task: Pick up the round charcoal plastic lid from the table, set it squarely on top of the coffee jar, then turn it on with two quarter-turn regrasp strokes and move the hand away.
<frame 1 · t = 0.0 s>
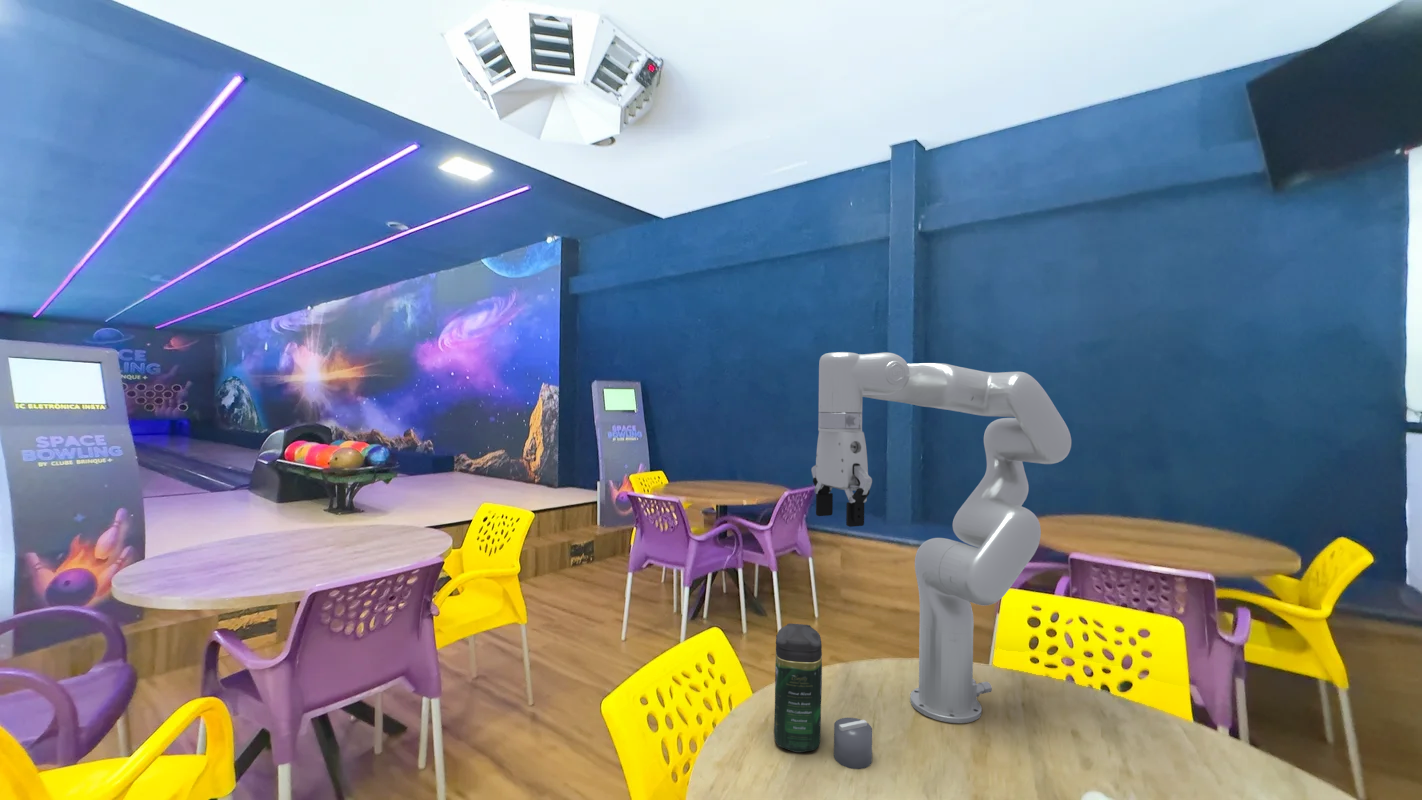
hand: (839, 520, 107), 37 cm above the table, tool pointing down, fingers open, 9 cm apart
coffee jar: (797, 739, 104), on the table
lid: (852, 758, 98), on the table
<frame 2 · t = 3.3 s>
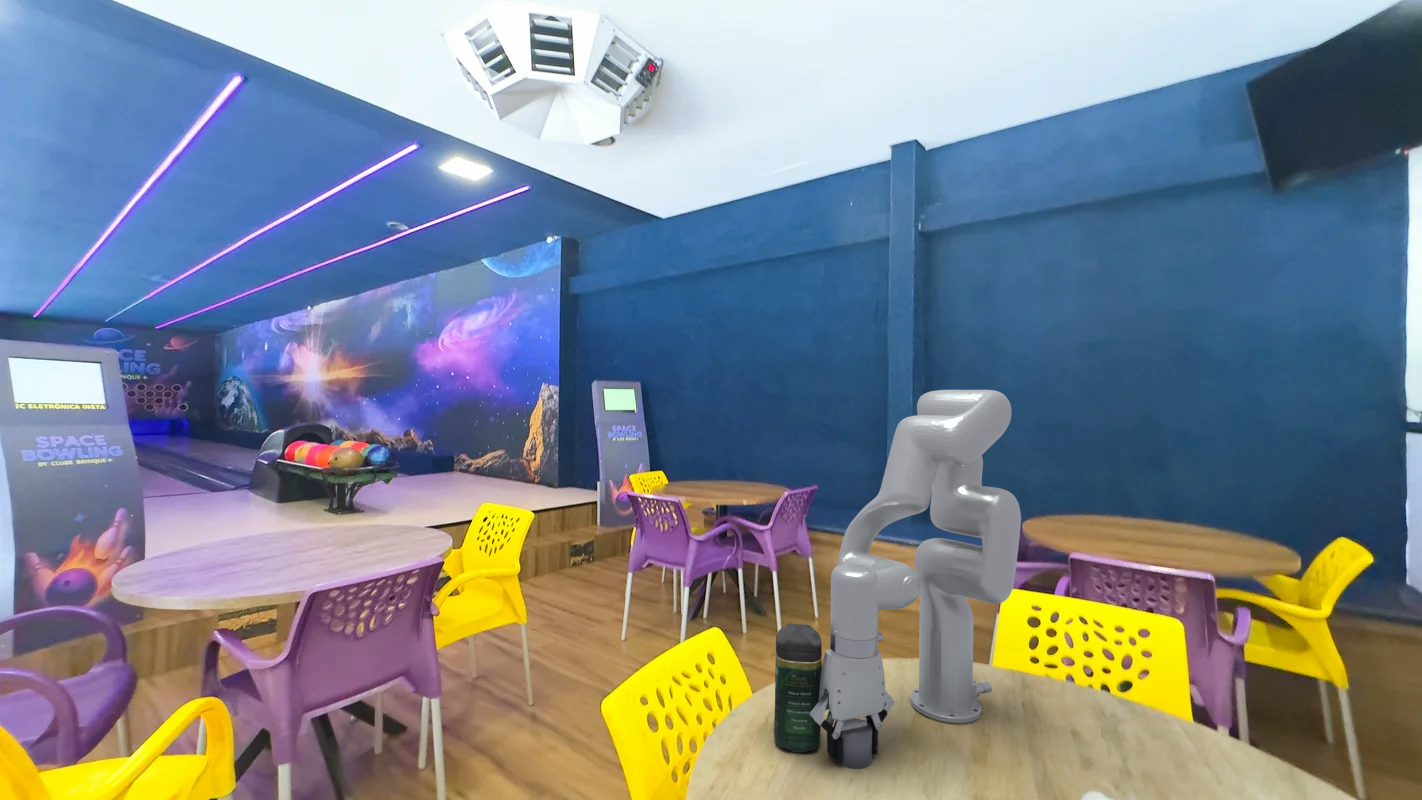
hand: (852, 753, 98), 1 cm above the table, tool pointing down, fingers closed on lid, 5 cm apart
lid: (852, 757, 98), on the table, touching gripper
everything else where it was.
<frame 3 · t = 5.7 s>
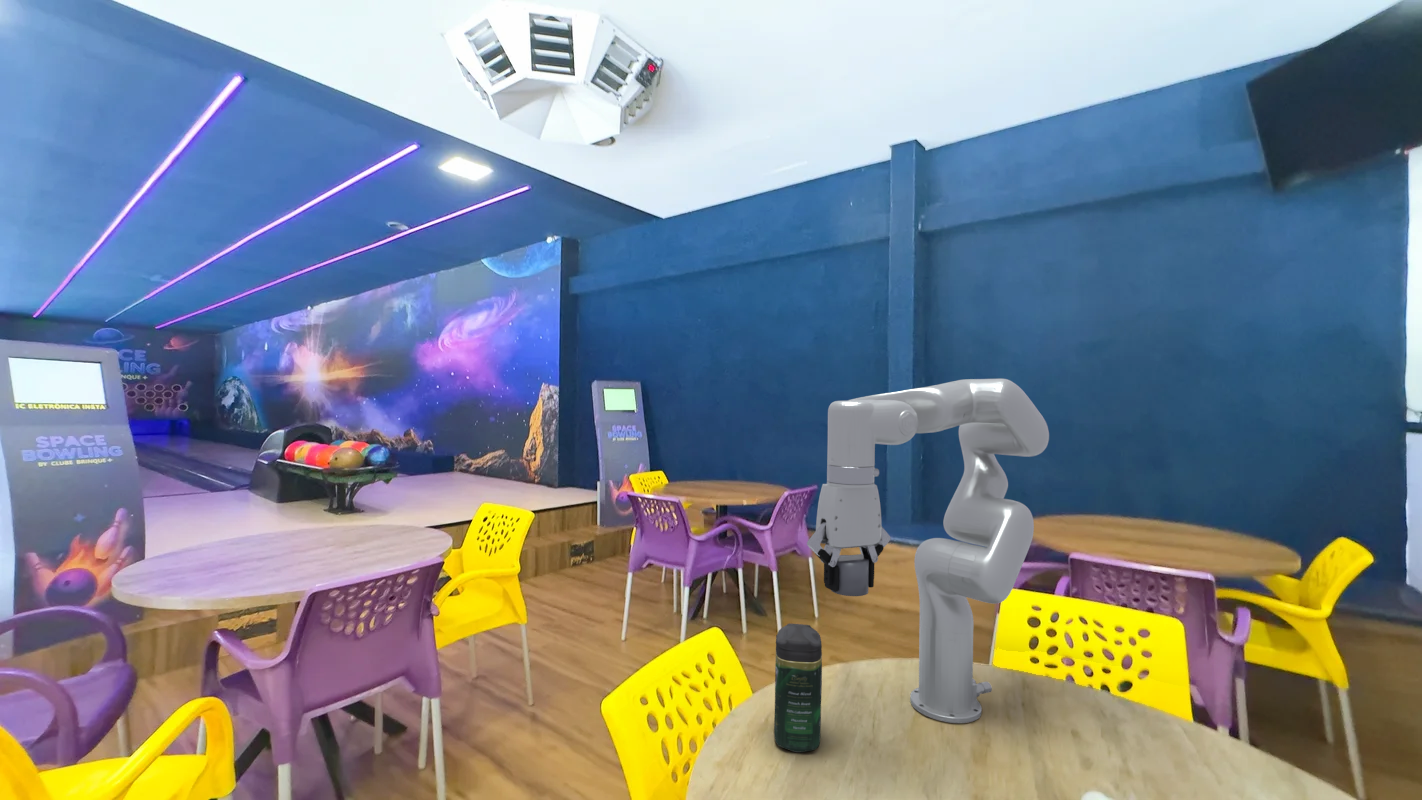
hand: (849, 586, 99), 28 cm above the table, tool pointing down, fingers closed on lid, 5 cm apart
lid: (849, 590, 99), point 27 cm above the table, touching gripper
everything else where it was.
when the fingers open (21 cm above the table, at t = 8.0 s): lid drops 1 cm, resting on coffee jar.
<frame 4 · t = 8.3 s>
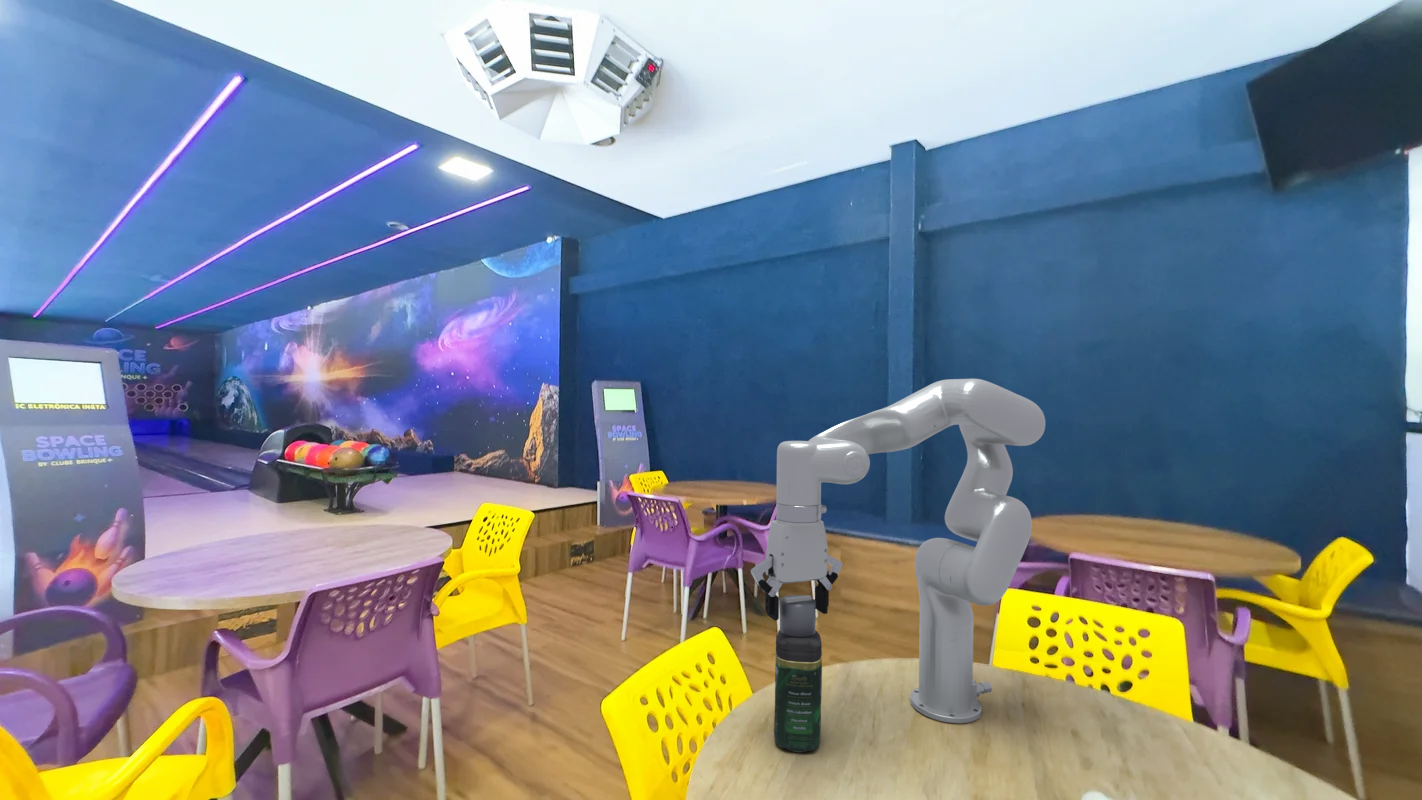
hand: (797, 614, 104), 21 cm above the table, tool pointing down, fingers open, 9 cm apart
coffee jar: (797, 739, 104), on the table, touching lid
lid: (797, 630, 104), point 19 cm above the table, touching coffee jar
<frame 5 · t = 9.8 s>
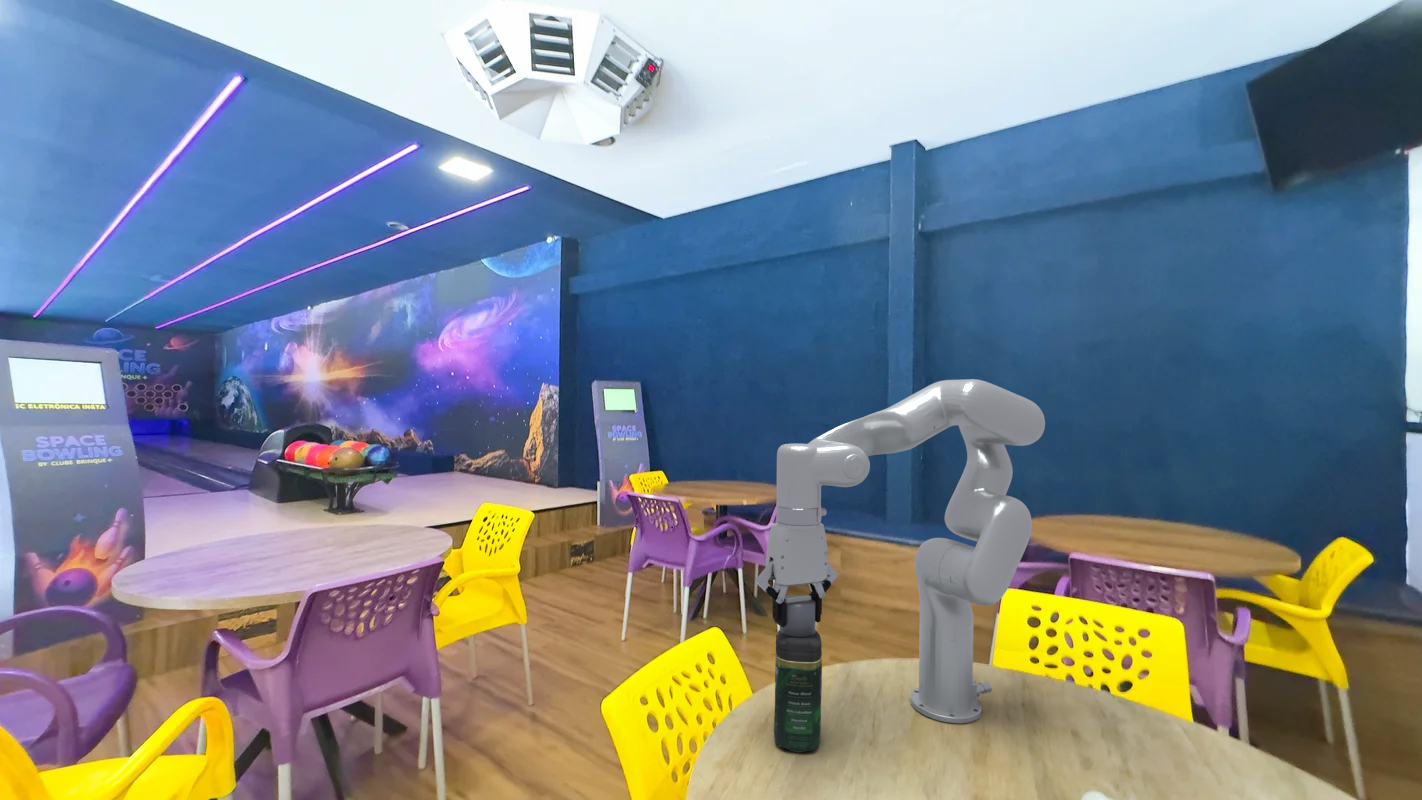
hand: (797, 620, 104), 20 cm above the table, tool pointing down, fingers closed on lid, 5 cm apart
lid: (797, 630, 104), point 19 cm above the table, touching coffee jar, gripper
everything else where it was.
when the fingers open (20 cm above the table, at t = 11.7 s): lid stays where it is, resting on coffee jar.
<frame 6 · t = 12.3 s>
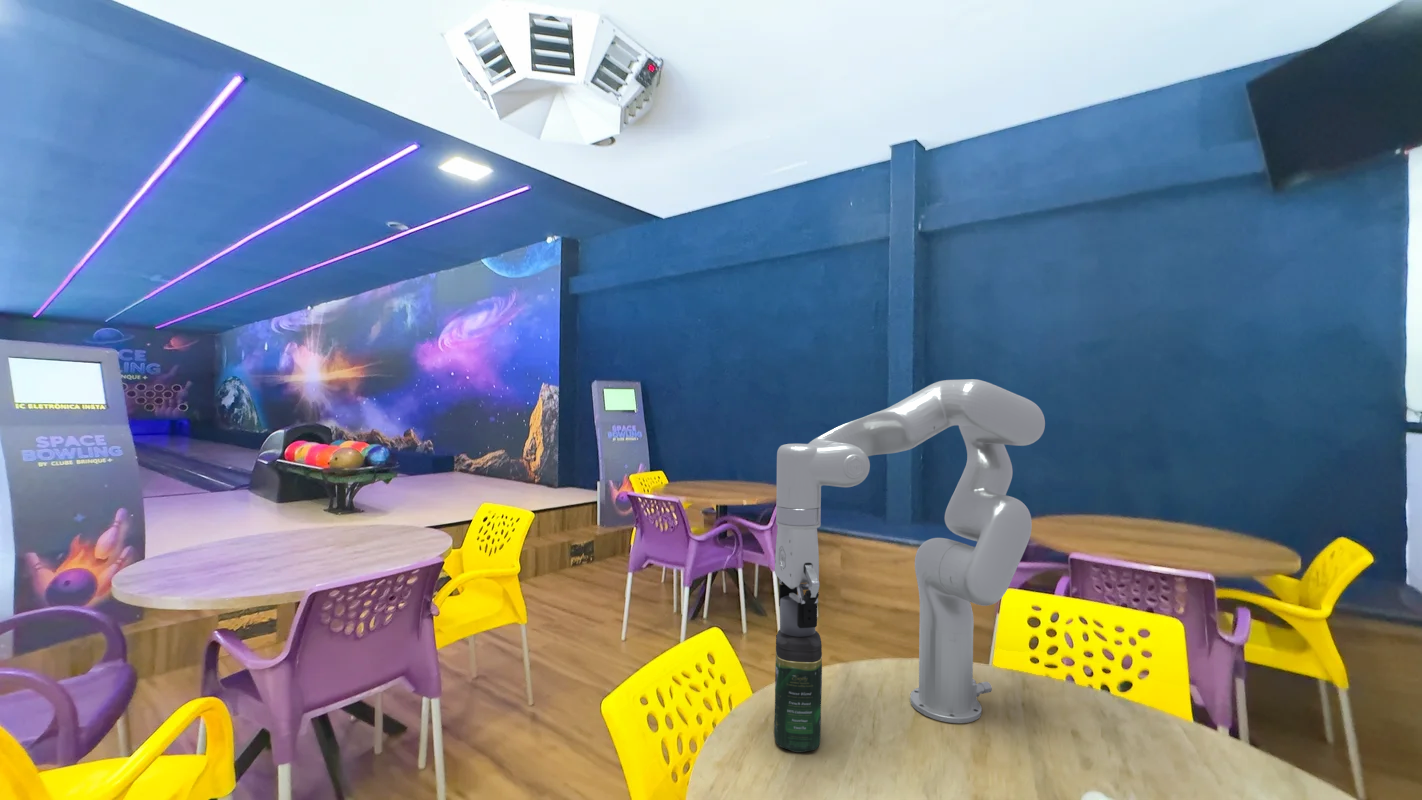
hand: (797, 616, 104), 21 cm above the table, tool pointing down, fingers open, 9 cm apart
lid: (797, 629, 104), point 19 cm above the table, touching coffee jar
everything else where it was.
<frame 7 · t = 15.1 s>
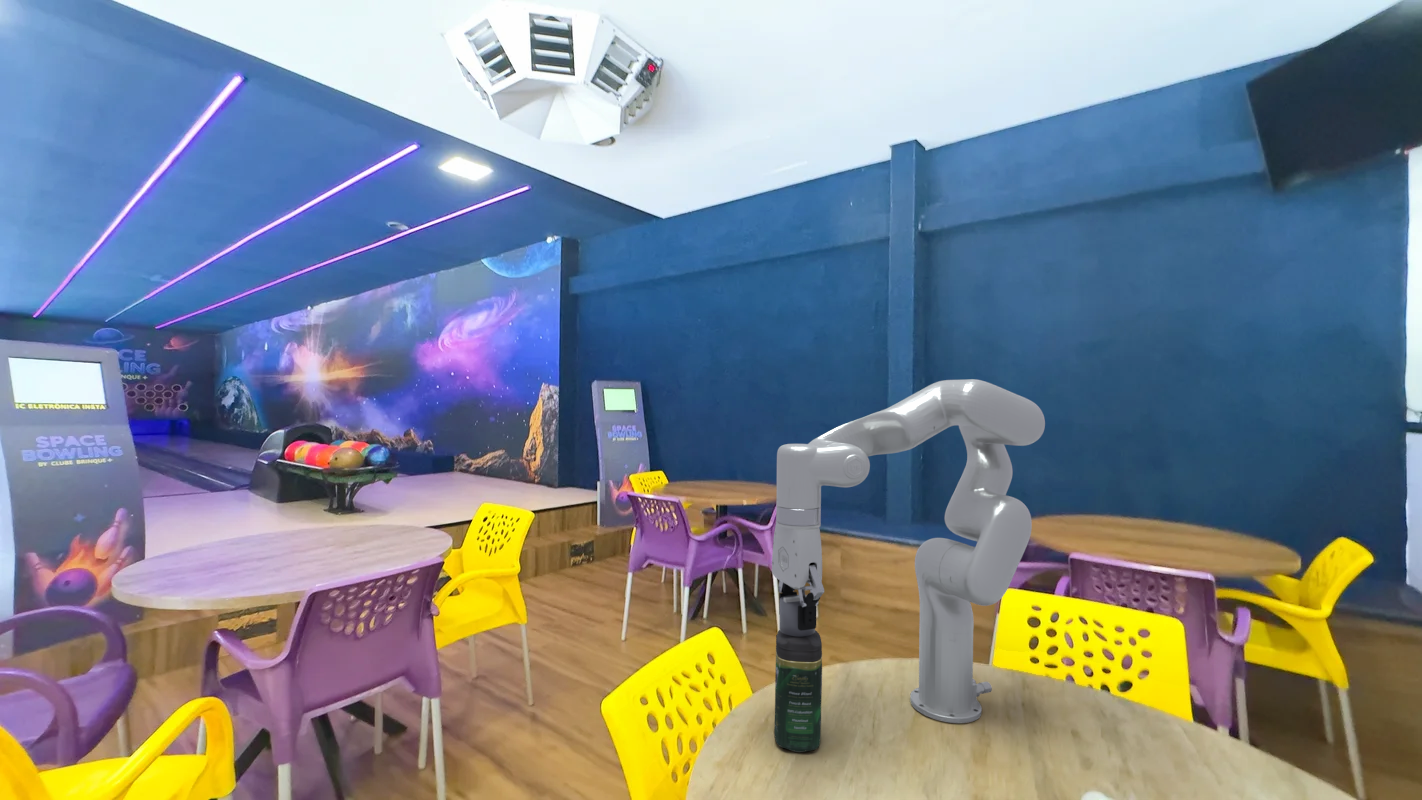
hand: (797, 621, 104), 20 cm above the table, tool pointing down, fingers closed on lid, 5 cm apart
coffee jar: (797, 739, 104), on the table
lid: (797, 629, 104), point 19 cm above the table, touching gripper
when the fingers open (20 cm above the table, at t = 15.1 s): lid stays where it is, resting on coffee jar.
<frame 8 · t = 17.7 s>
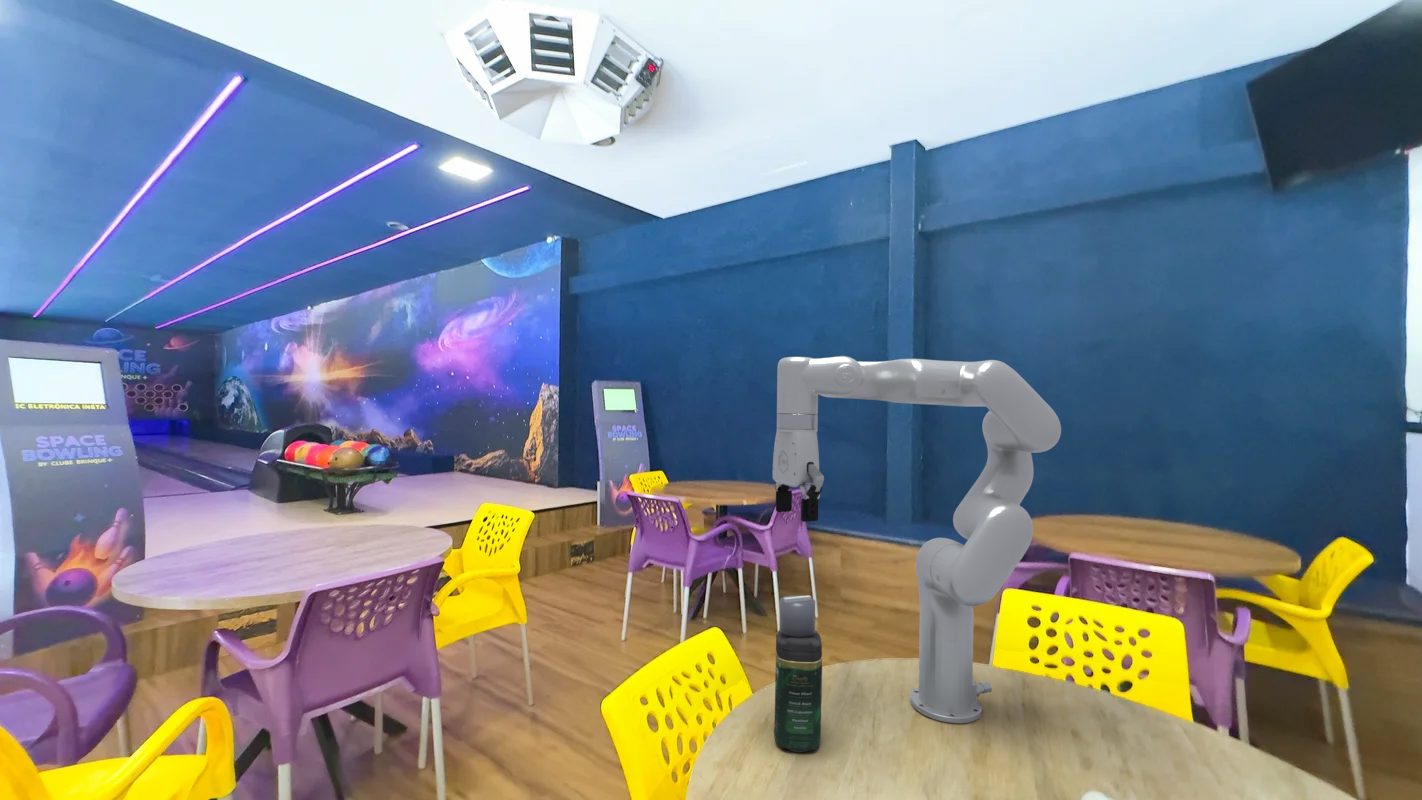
hand: (796, 516, 113), 36 cm above the table, tool pointing down, fingers open, 9 cm apart
coffee jar: (797, 739, 104), on the table, touching lid
lid: (797, 630, 104), point 19 cm above the table, touching coffee jar
at the end: lid inside the target area on the coffee jar (0.3 cm from its centre), point 18.7 cm above the coffee jar's base; lid tilted 0°; the gripper is holding nothing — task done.
